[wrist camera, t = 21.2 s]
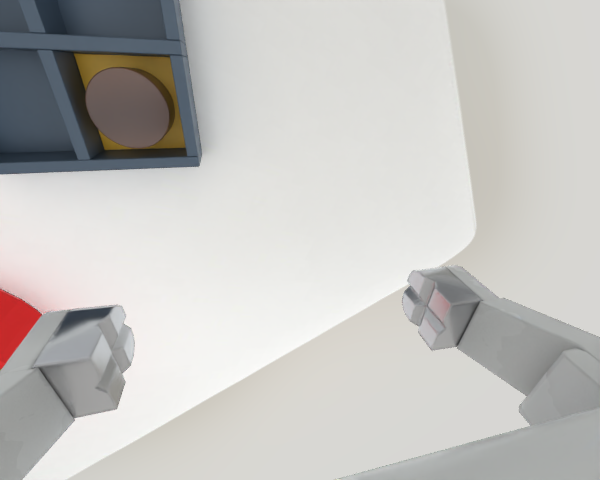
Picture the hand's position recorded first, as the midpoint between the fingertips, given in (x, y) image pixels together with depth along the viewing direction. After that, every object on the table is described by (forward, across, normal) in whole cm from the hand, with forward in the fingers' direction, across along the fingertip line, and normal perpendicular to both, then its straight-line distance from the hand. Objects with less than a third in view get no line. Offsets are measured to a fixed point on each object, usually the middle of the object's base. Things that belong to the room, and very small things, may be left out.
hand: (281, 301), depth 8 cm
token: (+20, +8, -3) cm, 21 cm away
